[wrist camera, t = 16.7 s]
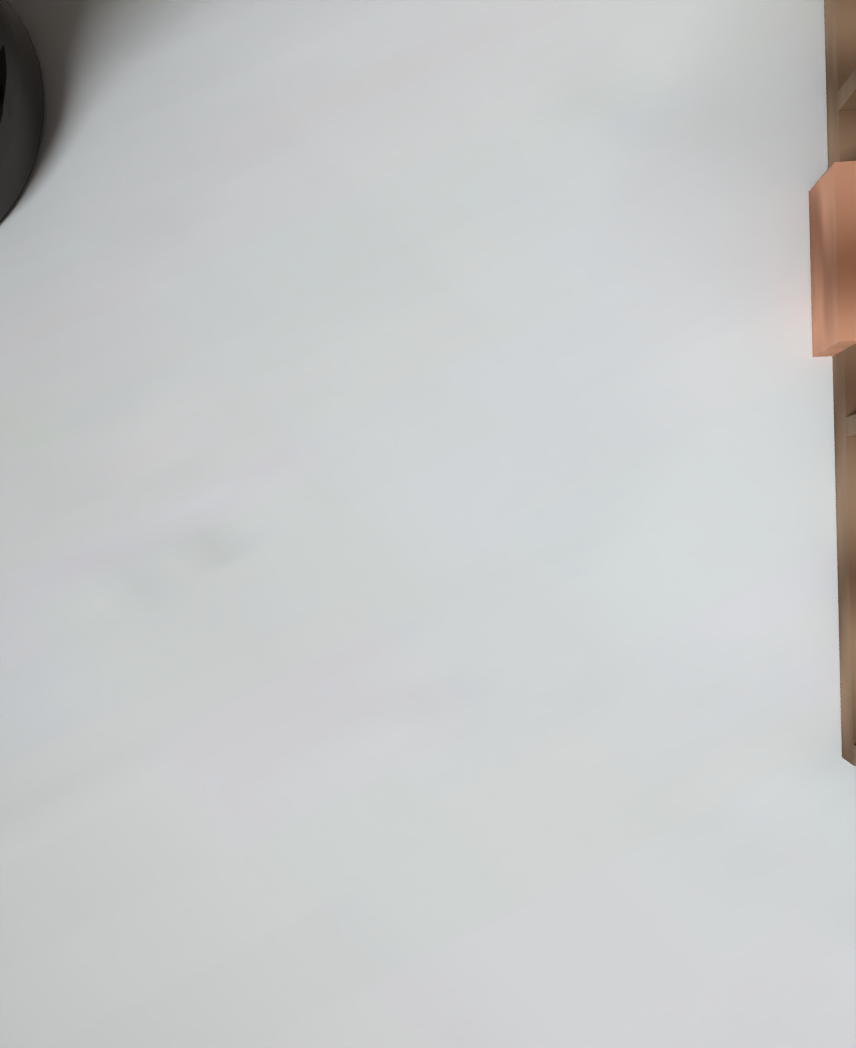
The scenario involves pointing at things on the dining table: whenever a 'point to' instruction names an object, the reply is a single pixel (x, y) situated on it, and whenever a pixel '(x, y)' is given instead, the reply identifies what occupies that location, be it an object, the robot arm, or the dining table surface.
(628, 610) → the dining table surface
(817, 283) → the rack
